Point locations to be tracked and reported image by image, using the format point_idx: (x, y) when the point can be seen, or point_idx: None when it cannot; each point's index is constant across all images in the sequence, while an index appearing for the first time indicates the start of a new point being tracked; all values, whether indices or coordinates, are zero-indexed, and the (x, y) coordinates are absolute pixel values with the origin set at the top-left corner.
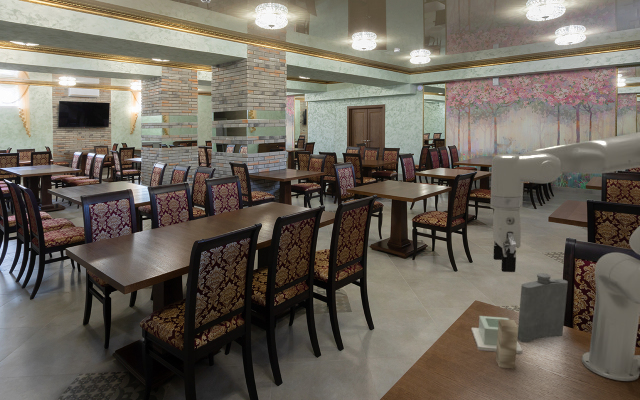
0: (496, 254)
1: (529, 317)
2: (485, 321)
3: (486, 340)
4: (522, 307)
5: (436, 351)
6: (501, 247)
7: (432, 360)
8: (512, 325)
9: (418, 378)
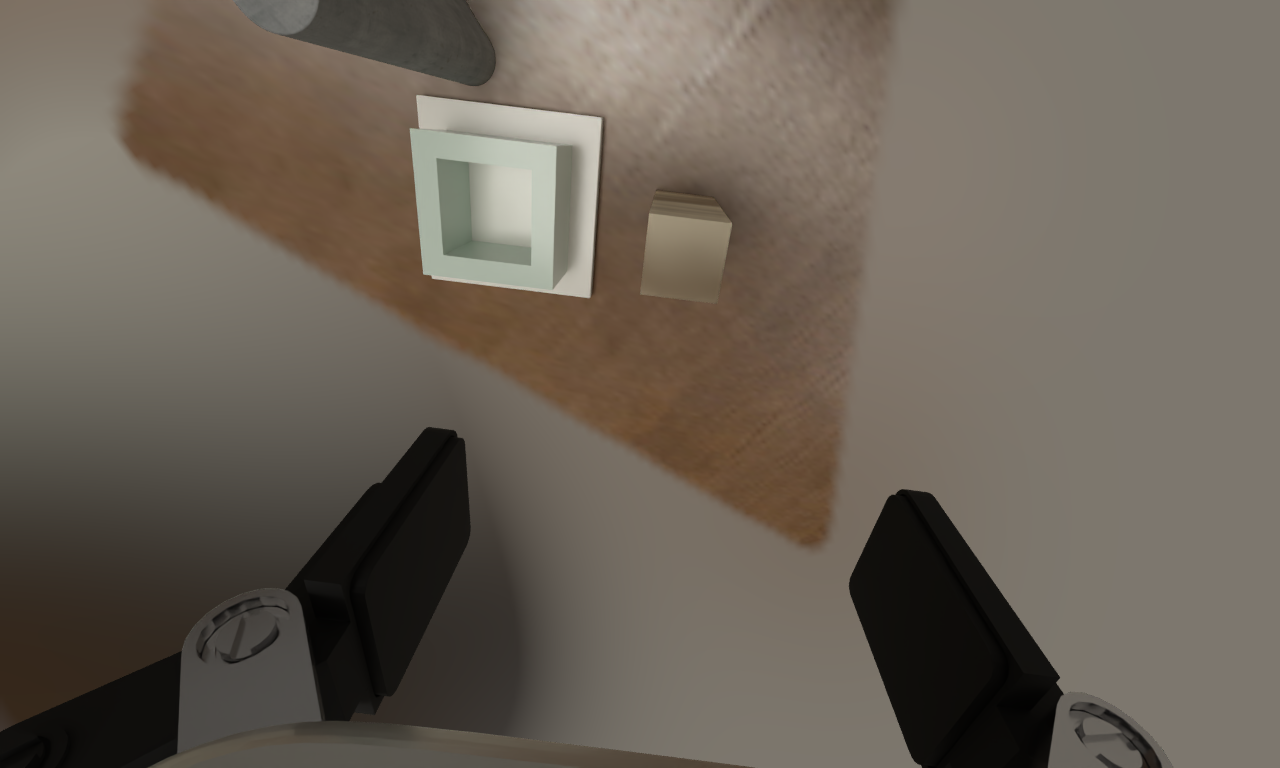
0: (443, 573)
1: (436, 14)
2: (479, 264)
3: (563, 266)
4: (405, 55)
5: (616, 430)
6: (383, 626)
7: (670, 451)
8: (712, 248)
9: (763, 500)
